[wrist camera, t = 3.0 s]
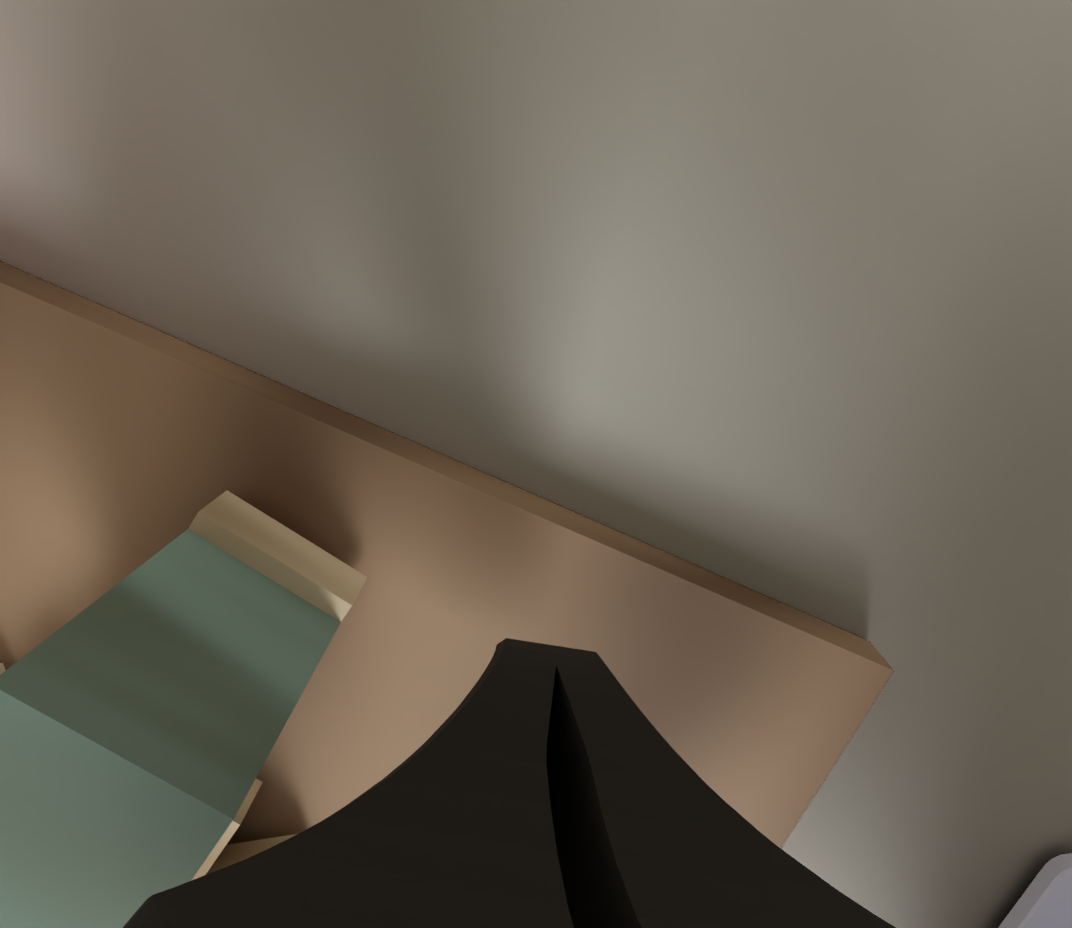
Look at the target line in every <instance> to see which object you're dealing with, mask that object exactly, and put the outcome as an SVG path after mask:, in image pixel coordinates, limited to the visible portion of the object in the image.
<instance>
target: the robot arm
mask: <svg viewBox="0 0 1072 928" xmlns="http://www.w3.org/2000/svg"><path fill="white" fill-rule="evenodd" d="M123 928H896V927H894V926H892V925H891V924H889V923H887V922H886V921H884V920H882V919H881V918H879V917H877V916H876V915H874V914H873V913H871V912H870V911H868V910H867V909H865V908H864V907H862V906H861V905H859V904H858V903H856V902H854V901H853V900H851V899H850V898H848V897H847V896H845V895H844V894H842V893H841V892H839V891H838V890H836V889H835V888H834V887H832V886H831V885H829V884H828V883H827V882H825V881H824V880H823V879H821V878H820V877H818V876H817V875H816V874H814V873H813V872H812V871H810V870H809V869H808V868H806V867H805V866H803V865H802V864H801V863H799V862H798V861H797V860H795V859H794V858H792V857H791V856H790V855H788V854H787V853H786V852H784V851H783V850H782V849H781V848H779V847H778V846H777V845H776V844H774V843H773V842H772V841H771V840H769V839H768V838H767V837H766V836H764V835H763V834H762V833H761V832H759V831H758V830H757V829H756V828H755V827H754V826H753V825H751V824H750V823H749V822H748V821H747V820H746V819H745V818H743V817H742V816H741V815H740V814H739V813H738V812H737V811H736V810H734V809H733V808H732V807H731V806H730V805H729V804H728V803H726V802H725V801H724V800H723V799H722V798H721V797H720V796H719V795H718V794H717V793H716V792H715V791H714V790H712V789H711V788H710V787H709V786H708V785H707V784H706V783H705V782H704V781H703V780H702V779H701V778H700V777H699V776H698V775H697V773H696V772H695V771H694V770H693V769H692V768H691V767H690V766H689V765H688V764H687V763H686V762H685V761H684V760H683V759H682V758H681V757H680V756H679V755H678V754H677V752H676V751H675V750H674V749H673V748H672V747H671V746H670V745H669V743H668V742H667V741H666V740H665V739H664V738H663V737H662V736H661V734H660V733H659V732H658V731H657V730H656V728H655V727H654V726H653V725H652V724H651V723H650V721H649V720H648V719H647V718H646V716H645V715H644V714H643V713H642V711H641V710H640V709H639V708H638V706H637V705H636V704H635V703H634V701H633V700H632V699H631V697H630V696H629V695H628V694H627V692H626V691H625V690H624V688H623V687H622V686H621V684H620V683H619V682H618V680H617V679H616V678H615V676H614V675H613V674H612V672H611V671H610V669H609V668H608V667H607V665H606V664H605V663H604V661H603V660H602V659H601V657H600V656H599V655H598V654H597V652H594V651H587V650H581V649H574V648H568V647H561V646H555V645H548V644H542V643H535V642H529V641H522V640H516V639H509V638H506V639H504V640H503V641H501V642H500V643H498V644H497V645H496V650H495V652H494V655H493V657H492V659H491V661H490V663H489V664H488V666H487V668H486V669H485V671H484V672H483V674H482V675H481V677H480V679H479V680H478V681H477V683H476V684H475V685H474V687H473V688H472V689H471V691H470V692H469V693H468V695H467V696H466V697H465V698H464V700H463V701H462V702H461V704H460V705H459V706H458V707H457V709H456V710H455V711H454V712H453V713H452V714H451V715H450V716H449V717H448V718H447V720H446V721H445V722H444V723H443V724H442V725H441V726H440V727H439V728H438V729H437V730H436V731H435V732H434V733H433V734H432V736H431V737H430V738H429V739H428V740H427V741H426V742H425V743H424V744H423V745H422V746H420V747H419V748H418V749H417V750H416V751H415V752H414V753H413V754H412V755H411V756H410V757H408V758H407V759H406V760H405V761H404V762H403V763H402V764H400V765H399V766H398V767H397V768H396V769H394V770H393V771H392V772H391V773H390V774H388V775H387V776H386V777H385V778H383V779H382V780H381V781H379V782H378V783H377V784H375V785H374V786H373V787H371V788H370V789H368V790H367V791H366V792H364V793H363V794H361V795H360V796H359V797H357V798H356V799H354V800H353V801H352V802H350V803H349V804H347V805H346V806H344V807H343V808H341V809H340V810H338V811H337V812H335V813H334V814H332V815H331V816H329V817H327V818H326V819H324V820H322V821H321V822H319V823H317V824H315V825H314V826H312V827H310V828H308V829H306V830H304V831H303V832H301V833H299V834H297V835H295V836H293V837H291V838H289V839H287V840H285V841H283V842H281V843H279V844H277V845H275V846H273V847H271V848H269V849H267V850H265V851H262V852H260V853H258V854H256V855H254V856H251V857H249V858H247V859H245V860H242V861H240V862H237V863H235V864H232V865H230V866H227V867H224V868H222V869H219V870H217V871H214V872H212V873H209V874H207V875H204V876H202V877H199V878H197V879H194V880H192V881H189V882H186V883H184V884H181V885H179V886H176V887H174V888H171V889H168V890H165V891H162V892H159V893H156V894H153V895H152V896H150V897H149V898H148V899H146V901H145V902H144V903H143V904H142V905H141V906H140V908H139V909H138V910H137V911H136V912H135V913H134V915H133V916H132V917H131V918H130V919H129V921H128V922H127V923H126V924H125V925H124V927H123ZM998 928H1072V853H1069V854H1061V855H1058V856H1056V857H1054V858H1052V859H1050V860H1049V861H1048V862H1047V863H1046V864H1045V865H1044V866H1043V868H1042V869H1041V870H1040V872H1039V873H1038V874H1037V876H1036V877H1035V879H1034V880H1033V881H1032V883H1031V884H1030V885H1029V887H1028V888H1027V889H1026V891H1025V892H1024V893H1023V895H1022V896H1021V898H1020V899H1019V900H1018V902H1017V903H1016V904H1015V906H1014V907H1013V908H1012V910H1011V911H1010V912H1009V914H1008V915H1007V916H1006V918H1005V919H1004V921H1003V922H1002V923H1001V925H1000V926H999V927H998Z"/></svg>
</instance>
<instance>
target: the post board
mask: <svg viewBox="0 0 1072 928" xmlns="http://www.w3.org/2000/svg"><path fill="white" fill-rule="evenodd" d="M227 490H228V491H229V492H231V493H232V494H234V495H236V496H237V497H239V498H240V499H242V500H244V501H245V502H247V503H248V504H250V505H252V506H253V507H255V508H257V509H258V510H260V511H261V512H263V513H265V514H266V515H268V516H269V517H271V518H273V519H274V520H276V521H278V522H279V523H281V524H282V525H284V526H286V527H287V528H289V529H290V530H292V531H294V532H295V533H297V534H299V535H300V536H302V537H303V538H305V539H307V540H308V541H310V542H311V543H313V544H315V545H316V546H318V547H320V548H321V549H323V550H324V551H326V552H328V553H329V554H331V555H332V556H334V557H336V558H337V559H339V560H341V561H342V562H344V563H345V564H347V565H349V566H350V567H352V568H353V569H355V570H357V571H358V572H360V573H362V574H363V575H365V576H366V577H367V579H366V581H365V583H364V584H363V586H362V588H361V590H360V592H359V594H358V596H357V598H356V599H355V601H354V603H353V605H352V607H351V608H350V609H349V611H348V612H347V614H346V615H345V617H344V618H343V620H342V621H341V623H340V625H339V627H338V628H337V630H336V632H335V634H334V636H333V638H332V639H331V641H330V643H329V645H328V647H327V649H326V650H325V652H324V654H323V656H322V658H321V660H320V661H319V663H318V665H317V667H316V669H315V671H314V672H313V674H312V676H311V678H310V680H309V682H308V684H307V685H306V687H305V689H304V691H303V693H302V695H301V696H300V698H299V700H298V702H297V704H296V706H295V707H294V709H293V711H292V713H291V715H290V717H289V718H288V720H287V722H286V724H285V726H284V728H283V729H282V731H281V733H280V735H279V737H278V739H277V740H276V742H275V744H274V746H273V748H272V750H271V752H270V753H269V755H268V757H267V759H266V761H265V763H264V764H263V766H262V768H261V770H260V772H259V774H258V775H257V777H256V778H257V779H258V780H260V781H262V782H263V783H262V784H261V786H260V788H259V790H258V792H257V794H256V796H255V798H254V800H253V801H252V803H251V805H250V807H249V809H248V811H247V813H246V815H245V817H244V819H243V820H242V822H241V824H240V826H239V827H238V829H237V830H236V832H235V833H234V834H233V836H232V837H231V839H230V840H229V842H228V843H227V845H229V844H236V843H242V842H248V841H255V840H261V839H268V838H274V837H280V836H287V835H293V834H299V833H301V832H303V831H304V830H306V829H308V828H310V827H312V826H314V825H315V824H317V823H319V822H321V821H322V820H324V819H326V818H327V817H329V816H331V815H332V814H334V813H335V812H337V811H338V810H340V809H341V808H343V807H344V806H346V805H347V804H349V803H350V802H352V801H353V800H354V799H356V798H357V797H359V796H360V795H361V794H363V793H364V792H366V791H367V790H368V789H370V788H371V787H373V786H374V785H375V784H377V783H378V782H379V781H381V780H382V779H383V778H385V777H386V776H387V775H388V774H390V773H391V772H392V771H393V770H394V769H396V768H397V767H398V766H399V765H400V764H402V763H403V762H404V761H405V760H406V759H407V758H408V757H410V756H411V755H412V754H413V753H414V752H415V751H416V750H417V749H418V748H419V747H420V746H422V745H423V744H424V743H425V742H426V741H427V740H428V739H429V738H430V737H431V736H432V734H433V733H434V732H435V731H436V730H437V729H438V728H439V727H440V726H441V725H442V724H443V723H444V722H445V721H446V720H447V718H448V717H449V716H450V715H451V714H452V713H453V712H454V711H455V710H456V709H457V707H458V706H459V705H460V704H461V702H462V701H463V700H464V698H465V697H466V696H467V695H468V693H469V692H470V691H471V689H472V688H473V687H474V685H475V684H476V683H477V681H478V680H479V679H480V677H481V675H482V674H483V672H484V671H485V669H486V668H487V666H488V664H489V663H490V661H491V659H492V657H493V655H494V652H495V650H496V645H497V644H498V643H500V642H501V641H503V640H504V639H506V638H509V639H516V640H522V641H529V642H535V643H542V644H548V645H555V646H561V647H568V648H574V649H581V650H587V651H594V652H597V654H598V655H599V656H600V657H601V659H602V660H603V661H604V663H605V664H606V665H607V667H608V668H609V669H610V671H611V672H612V674H613V675H614V676H615V678H616V679H617V680H618V682H619V683H620V684H621V686H622V687H623V688H624V690H625V691H626V692H627V694H628V695H629V696H630V697H631V699H632V700H633V701H634V703H635V704H636V705H637V706H638V708H639V709H640V710H641V711H642V713H643V714H644V715H645V716H646V718H647V719H648V720H649V721H650V723H651V724H652V725H653V726H654V727H655V728H656V730H657V731H658V732H659V733H660V734H661V736H662V737H663V738H664V739H665V740H666V741H667V742H668V743H669V745H670V746H671V747H672V748H673V749H674V750H675V751H676V752H677V754H678V755H679V756H680V757H681V758H682V759H683V760H684V761H685V762H686V763H687V764H688V765H689V766H690V767H691V768H692V769H693V770H694V771H695V772H696V773H697V775H698V776H699V777H700V778H701V779H702V780H703V781H704V782H705V783H706V784H707V785H708V786H709V787H710V788H711V789H712V790H714V791H715V792H716V793H717V794H718V795H719V796H720V797H721V798H722V799H723V800H724V801H725V802H726V803H728V804H729V805H730V806H731V807H732V808H733V809H734V810H736V811H737V812H738V813H739V814H740V815H741V816H742V817H743V818H745V819H746V820H747V821H748V822H749V823H750V824H751V825H753V826H754V827H755V828H756V829H757V830H758V831H759V832H761V833H762V834H763V835H764V836H766V837H767V838H768V839H769V840H771V841H772V842H773V843H774V844H776V845H777V846H778V847H779V848H782V847H783V845H784V843H785V842H786V840H787V839H788V837H789V836H790V834H791V832H792V831H793V829H794V828H795V826H796V825H797V823H798V821H799V820H800V818H801V817H802V815H803V813H804V812H805V810H806V809H807V807H808V806H809V804H810V802H811V801H812V799H813V798H814V796H815V795H816V793H817V791H818V790H819V788H820V787H821V785H822V783H823V782H824V780H825V779H826V777H827V776H828V774H829V772H830V771H831V769H832V768H833V766H834V765H835V763H836V761H837V760H838V758H839V757H840V755H841V753H842V752H843V750H844V749H845V747H846V746H847V744H848V742H849V741H850V739H851V738H852V736H853V735H854V733H855V731H856V730H857V728H858V727H859V725H860V723H861V722H862V720H863V719H864V717H865V716H866V714H867V712H868V711H869V709H870V708H871V706H872V705H873V703H874V701H875V700H876V698H877V697H878V695H879V693H880V692H881V690H882V689H883V687H884V686H885V684H886V682H887V681H888V679H889V678H890V676H891V675H892V673H893V671H894V670H893V669H892V668H891V666H890V665H889V664H888V663H887V662H886V661H885V659H884V658H883V657H882V656H881V655H880V654H879V652H878V651H877V650H876V649H875V648H874V646H873V645H872V644H871V643H870V642H869V641H868V640H865V639H863V638H861V637H858V636H856V635H854V634H852V633H849V632H847V631H845V630H842V629H840V628H838V627H836V626H833V625H831V624H829V623H826V622H824V621H822V620H820V619H817V618H815V617H813V616H810V615H808V614H806V613H804V612H801V611H799V610H797V609H794V608H792V607H790V606H788V605H785V604H783V603H781V602H778V601H776V600H774V599H772V598H769V597H767V596H765V595H762V594H760V593H758V592H756V591H753V590H751V589H749V588H746V587H744V586H742V585H740V584H737V583H735V582H733V581H730V580H728V579H726V578H724V577H721V576H719V575H717V574H714V573H712V572H710V571H708V570H705V569H703V568H701V567H698V566H696V565H694V564H692V563H689V562H687V561H685V560H682V559H680V558H678V557H676V556H673V555H671V554H669V553H666V552H664V551H662V550H660V549H657V548H655V547H653V546H650V545H648V544H646V543H643V542H641V541H639V540H637V539H634V538H632V537H630V536H627V535H625V534H623V533H621V532H618V531H616V530H614V529H611V528H609V527H607V526H605V525H602V524H600V523H598V522H595V521H593V520H591V519H589V518H586V517H584V516H582V515H579V514H577V513H575V512H573V511H570V510H568V509H566V508H563V507H561V506H559V505H557V504H554V503H552V502H550V501H547V500H545V499H543V498H541V497H538V496H536V495H534V494H531V493H529V492H527V491H525V490H522V489H520V488H518V487H515V486H513V485H511V484H509V483H506V482H504V481H502V480H499V479H497V478H495V477H493V476H490V475H488V474H486V473H483V472H481V471H479V470H477V469H474V468H472V467H470V466H467V465H465V464H463V463H461V462H458V461H456V460H454V459H451V458H449V457H447V456H444V455H442V454H440V453H438V452H435V451H433V450H431V449H428V448H426V447H424V446H422V445H419V444H417V443H415V442H412V441H410V440H408V439H406V438H403V437H401V436H399V435H396V434H394V433H392V432H390V431H387V430H385V429H383V428H380V427H378V426H376V425H374V424H371V423H369V422H367V421H364V420H362V419H360V418H358V417H355V416H353V415H351V414H348V413H346V412H344V411H342V410H339V409H337V408H335V407H332V406H330V405H328V404H326V403H323V402H321V401H319V400H316V399H314V398H312V397H310V396H307V395H305V394H303V393H300V392H298V391H296V390H294V389H291V388H289V387H287V386H284V385H282V384H280V383H278V382H275V381H273V380H271V379H268V378H266V377H264V376H262V375H259V374H257V373H255V372H252V371H250V370H248V369H245V368H243V367H241V366H239V365H236V364H234V363H232V362H229V361H227V360H225V359H223V358H220V357H218V356H216V355H213V354H211V353H209V352H207V351H204V350H202V349H200V348H197V347H195V346H193V345H191V344H188V343H186V342H184V341H181V340H179V339H177V338H175V337H172V336H170V335H168V334H165V333H163V332H161V331H159V330H156V329H154V328H152V327H149V326H147V325H145V324H143V323H140V322H138V321H136V320H133V319H131V318H129V317H127V316H124V315H122V314H120V313H117V312H115V311H113V310H111V309H108V308H106V307H104V306H101V305H99V304H97V303H95V302H92V301H90V300H88V299H85V298H83V297H81V296H79V295H76V294H74V293H72V292H69V291H67V290H65V289H63V288H60V287H58V286H56V285H53V284H51V283H49V282H46V281H44V280H42V279H40V278H37V277H35V276H33V275H30V274H28V273H26V272H24V271H21V270H19V269H17V268H14V267H12V266H10V265H8V264H5V263H3V262H1V261H0V663H3V665H4V667H5V670H7V669H8V668H10V667H11V666H12V665H14V664H15V663H16V662H17V661H19V660H20V659H21V658H23V657H24V656H25V655H26V654H28V653H29V652H30V651H32V650H33V649H34V648H35V647H37V646H38V645H39V644H41V643H42V642H43V641H44V640H46V639H47V638H48V637H50V636H51V635H52V634H54V633H55V632H56V631H57V630H59V629H60V628H61V627H63V626H64V625H65V624H66V623H68V622H69V621H70V620H72V619H73V618H74V617H75V616H77V615H78V614H79V613H81V612H82V611H83V610H84V609H86V608H87V607H88V606H90V605H91V604H92V603H93V602H95V601H96V600H97V599H99V598H100V597H101V596H102V595H104V594H105V593H106V592H108V591H109V590H110V589H111V588H113V587H114V586H115V585H117V584H118V583H119V582H120V581H122V580H123V579H124V578H126V577H127V576H128V575H129V574H131V573H132V572H133V571H135V570H136V569H137V568H138V567H140V566H141V565H142V564H144V563H145V562H146V561H147V560H149V559H150V558H151V557H153V556H154V555H155V554H156V553H158V552H159V551H160V550H162V549H163V548H164V547H165V546H167V545H168V544H169V543H171V542H172V541H173V540H174V539H176V538H177V537H178V536H180V535H181V534H182V533H183V532H185V531H186V530H187V529H188V528H189V526H190V525H191V523H192V521H193V520H194V518H195V517H196V515H197V513H198V512H199V511H200V510H201V509H203V508H204V507H205V506H207V505H208V504H209V503H211V502H212V501H213V500H215V499H216V498H217V497H219V496H220V495H221V494H223V493H224V492H225V491H227Z"/></svg>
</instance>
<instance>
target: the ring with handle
mask: <svg viewBox="0 0 1072 928" xmlns="http://www.w3.org/2000/svg"><path fill="white" fill-rule="evenodd" d="M366 579H367V577H366V576H365V575H363V574H362V573H360V572H358V571H357V570H355V569H353V568H352V567H350V566H349V565H347V564H345V563H344V562H342V561H341V560H339V559H337V558H336V557H334V556H332V555H331V554H329V553H328V552H326V551H324V550H323V549H321V548H320V547H318V546H316V545H315V544H313V543H311V542H310V541H308V540H307V539H305V538H303V537H302V536H300V535H299V534H297V533H295V532H294V531H292V530H290V529H289V528H287V527H286V526H284V525H282V524H281V523H279V522H278V521H276V520H274V519H273V518H271V517H269V516H268V515H266V514H265V513H263V512H261V511H260V510H258V509H257V508H255V507H253V506H252V505H250V504H248V503H247V502H245V501H244V500H242V499H240V498H239V497H237V496H236V495H234V494H232V493H231V492H229V491H228V490H227V491H225V492H224V493H223V494H221V495H220V496H219V497H217V498H216V499H215V500H213V501H212V502H211V503H209V504H208V505H207V506H205V507H204V508H203V509H201V510H200V511H199V512H198V513H197V515H196V517H195V518H194V520H193V521H192V523H191V525H190V526H189V528H188V529H187V530H186V531H185V532H183V533H182V534H181V535H180V536H178V537H177V538H176V539H174V540H173V541H172V542H171V543H169V544H168V545H167V546H165V547H164V548H163V549H162V550H160V551H159V552H158V553H156V554H155V555H154V556H153V557H151V558H150V559H149V560H147V561H146V562H145V563H144V564H142V565H141V566H140V567H138V568H137V569H136V570H135V571H133V572H132V573H131V574H129V575H128V576H127V577H126V578H124V579H123V580H122V581H120V582H119V583H118V584H117V585H115V586H114V587H113V588H111V589H110V590H109V591H108V592H106V593H105V594H104V595H102V596H101V597H100V598H99V599H97V600H96V601H95V602H93V603H92V604H91V605H90V606H88V607H87V608H86V609H84V610H83V611H82V612H81V613H79V614H78V615H77V616H75V617H74V618H73V619H72V620H70V621H69V622H68V623H66V624H65V625H64V626H63V627H61V628H60V629H59V630H57V631H56V632H55V633H54V634H52V635H51V636H50V637H48V638H47V639H46V640H44V641H43V642H42V643H41V644H39V645H38V646H37V647H35V648H34V649H33V650H32V651H30V652H29V653H28V654H26V655H25V656H24V657H23V658H21V659H20V660H19V661H17V662H16V663H15V664H14V665H12V666H11V667H10V668H8V669H7V670H5V667H4V665H3V663H0V928H123V927H124V925H125V924H126V923H127V922H128V921H129V919H130V918H131V917H132V916H133V915H134V913H135V912H136V911H137V910H138V909H139V908H140V906H141V905H142V904H143V903H144V902H145V901H146V899H148V898H149V897H150V896H152V895H153V894H156V893H159V892H162V891H165V890H168V889H171V888H174V887H176V886H179V885H181V884H184V883H186V882H189V881H192V880H194V879H197V878H199V877H202V876H204V875H207V874H209V873H212V872H214V871H217V870H219V869H222V868H224V867H227V866H230V865H232V864H235V863H237V862H240V861H242V860H245V859H247V858H249V857H251V856H254V855H256V854H258V853H260V852H262V851H265V850H267V849H269V848H271V847H273V846H275V845H277V844H279V843H281V842H283V841H285V840H287V839H289V838H291V837H293V836H295V835H297V834H293V835H287V836H280V837H274V838H268V839H261V840H255V841H248V842H242V843H236V844H229V845H227V843H228V842H229V840H230V839H231V837H232V836H233V834H234V833H235V832H236V830H237V829H238V827H239V826H240V824H241V822H242V820H243V819H244V817H245V815H246V813H247V811H248V809H249V807H250V805H251V803H252V801H253V800H254V798H255V796H256V794H257V792H258V790H259V788H260V786H261V784H262V783H263V782H262V781H260V780H258V779H257V778H256V777H257V775H258V774H259V772H260V770H261V768H262V766H263V764H264V763H265V761H266V759H267V757H268V755H269V753H270V752H271V750H272V748H273V746H274V744H275V742H276V740H277V739H278V737H279V735H280V733H281V731H282V729H283V728H284V726H285V724H286V722H287V720H288V718H289V717H290V715H291V713H292V711H293V709H294V707H295V706H296V704H297V702H298V700H299V698H300V696H301V695H302V693H303V691H304V689H305V687H306V685H307V684H308V682H309V680H310V678H311V676H312V674H313V672H314V671H315V669H316V667H317V665H318V663H319V661H320V660H321V658H322V656H323V654H324V652H325V650H326V649H327V647H328V645H329V643H330V641H331V639H332V638H333V636H334V634H335V632H336V630H337V628H338V627H339V625H340V623H341V621H342V620H343V618H344V617H345V615H346V614H347V612H348V611H349V609H350V608H351V607H352V605H353V603H354V601H355V599H356V598H357V596H358V594H359V592H360V590H361V588H362V586H363V584H364V583H365V581H366Z"/></svg>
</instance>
